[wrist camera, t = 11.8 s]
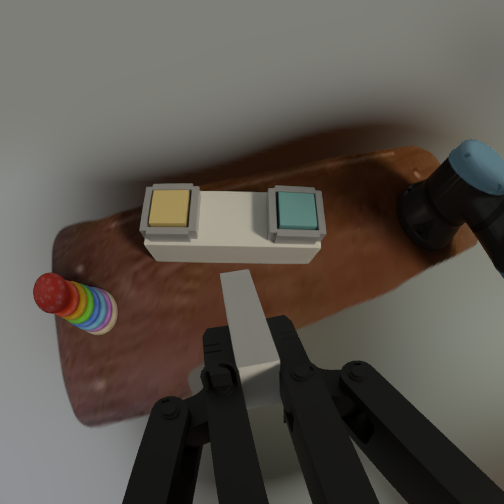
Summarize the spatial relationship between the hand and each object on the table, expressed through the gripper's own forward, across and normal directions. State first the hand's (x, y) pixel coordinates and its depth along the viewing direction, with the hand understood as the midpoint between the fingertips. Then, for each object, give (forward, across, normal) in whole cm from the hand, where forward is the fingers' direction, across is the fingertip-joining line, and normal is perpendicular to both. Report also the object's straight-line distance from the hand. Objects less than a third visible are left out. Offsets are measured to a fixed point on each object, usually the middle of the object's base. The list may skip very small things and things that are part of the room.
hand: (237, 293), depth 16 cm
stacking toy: (+27, -23, -18) cm, 40 cm away
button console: (+34, +2, -11) cm, 36 cm away
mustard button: (+29, -6, -5) cm, 30 cm away
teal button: (+27, +11, -7) cm, 30 cm away
